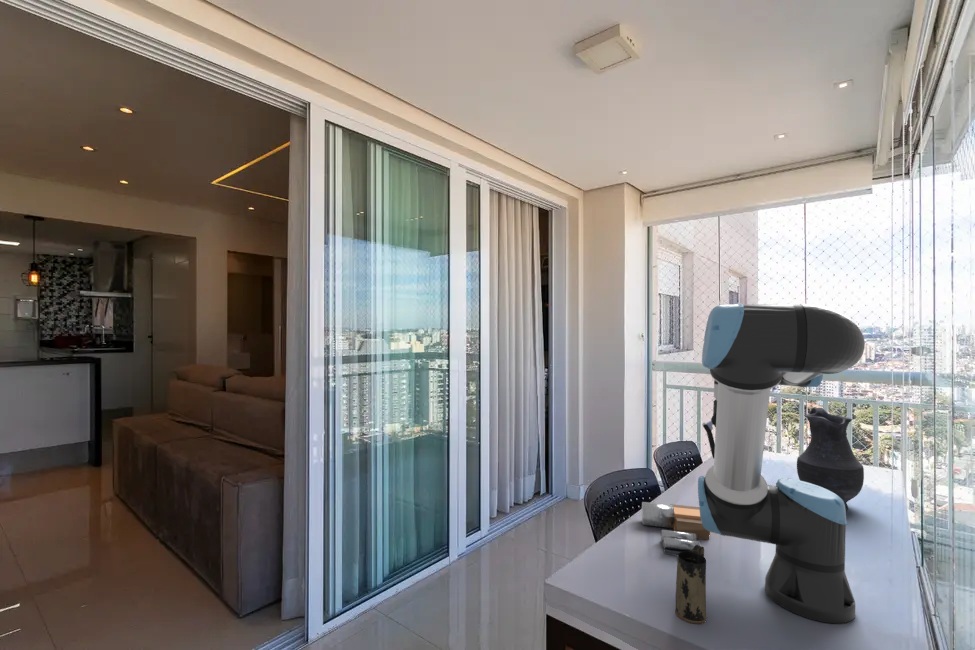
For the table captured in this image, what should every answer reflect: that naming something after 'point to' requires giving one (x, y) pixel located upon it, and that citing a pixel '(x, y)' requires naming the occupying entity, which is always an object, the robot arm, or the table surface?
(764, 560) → the table surface
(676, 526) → the cardboard box
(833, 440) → the pitcher
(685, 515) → the orange brown block
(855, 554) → the table surface
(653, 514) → the silver metal cylinder
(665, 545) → the v block
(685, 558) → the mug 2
